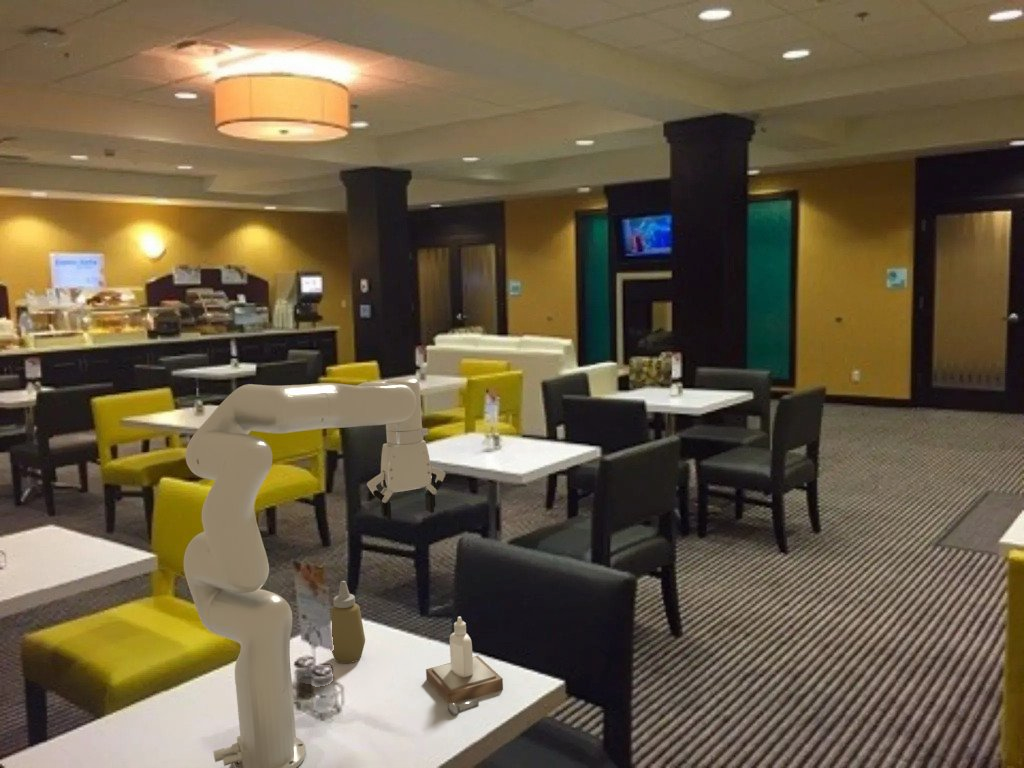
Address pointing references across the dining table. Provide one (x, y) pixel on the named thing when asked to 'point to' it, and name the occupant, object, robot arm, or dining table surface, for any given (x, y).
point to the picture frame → (464, 681)
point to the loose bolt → (461, 706)
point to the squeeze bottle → (346, 627)
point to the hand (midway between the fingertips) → (408, 515)
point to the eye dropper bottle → (461, 650)
